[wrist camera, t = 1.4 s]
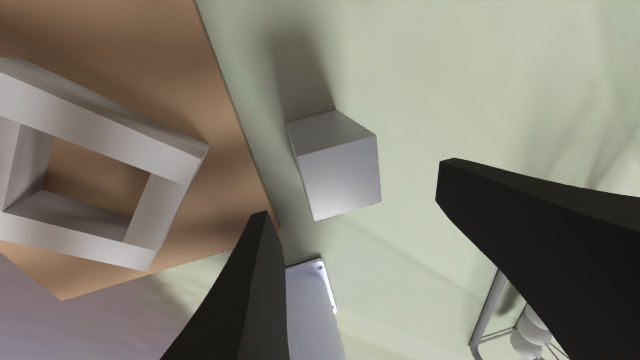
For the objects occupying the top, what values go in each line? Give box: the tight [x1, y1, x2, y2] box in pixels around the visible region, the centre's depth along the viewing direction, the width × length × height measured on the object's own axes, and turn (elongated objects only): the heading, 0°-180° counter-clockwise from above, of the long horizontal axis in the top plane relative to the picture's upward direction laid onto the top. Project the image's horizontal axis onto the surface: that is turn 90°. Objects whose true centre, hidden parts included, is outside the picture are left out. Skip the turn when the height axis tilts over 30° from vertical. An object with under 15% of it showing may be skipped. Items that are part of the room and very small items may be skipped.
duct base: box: [0, 0, 280, 301], centre depth 14 cm, size 18×18×4 cm
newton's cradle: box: [470, 270, 570, 360], centre depth 28 cm, size 30×10×18 cm, turn 6°
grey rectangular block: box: [285, 110, 382, 222], centre depth 15 cm, size 4×4×7 cm
